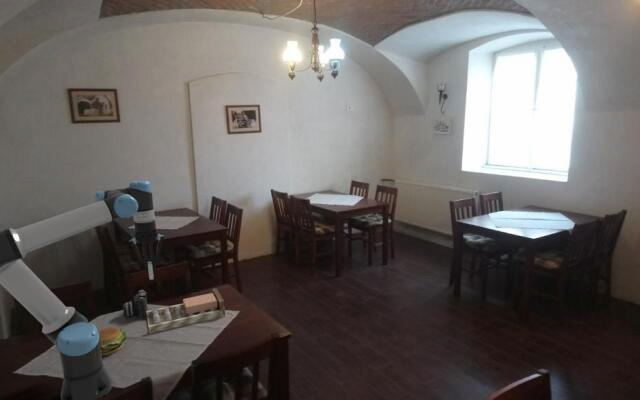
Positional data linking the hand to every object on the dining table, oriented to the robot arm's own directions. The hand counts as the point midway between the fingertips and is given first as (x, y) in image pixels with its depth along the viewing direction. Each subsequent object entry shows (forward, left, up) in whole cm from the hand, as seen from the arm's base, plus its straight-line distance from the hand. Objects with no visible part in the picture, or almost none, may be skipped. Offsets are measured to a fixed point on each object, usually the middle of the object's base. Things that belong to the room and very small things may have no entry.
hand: (151, 278), depth 163 cm
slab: (+21, +21, -26) cm, 39 cm away
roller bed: (+13, +21, -29) cm, 38 cm away
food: (-19, +8, -30) cm, 36 cm away
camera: (-7, +36, -30) cm, 47 cm away
